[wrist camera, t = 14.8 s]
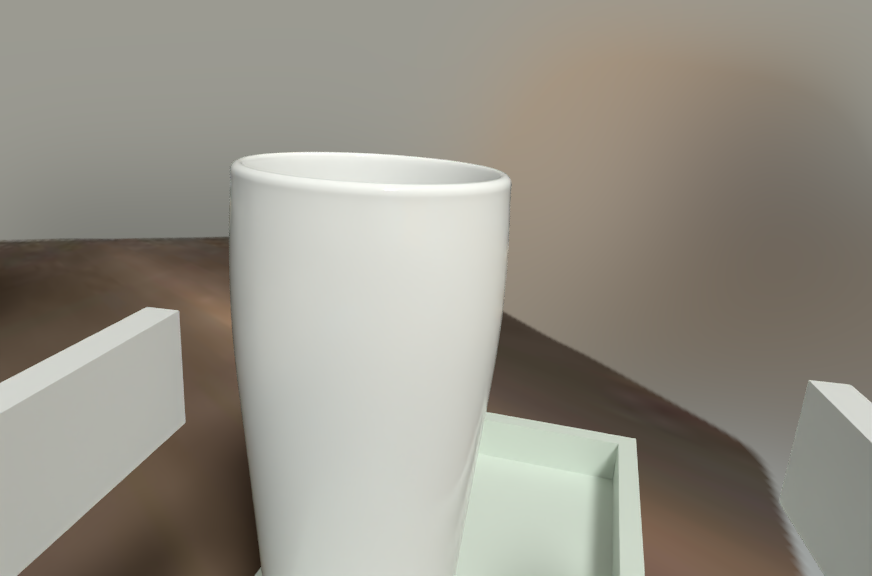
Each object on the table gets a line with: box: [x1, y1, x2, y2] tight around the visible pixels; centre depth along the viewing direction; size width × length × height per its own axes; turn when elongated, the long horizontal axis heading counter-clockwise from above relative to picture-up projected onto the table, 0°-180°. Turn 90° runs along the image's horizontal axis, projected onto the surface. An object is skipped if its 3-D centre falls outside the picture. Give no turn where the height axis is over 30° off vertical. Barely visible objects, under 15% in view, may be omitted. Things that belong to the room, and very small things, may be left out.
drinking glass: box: [229, 152, 512, 576], centre depth 17 cm, size 7×7×15 cm
